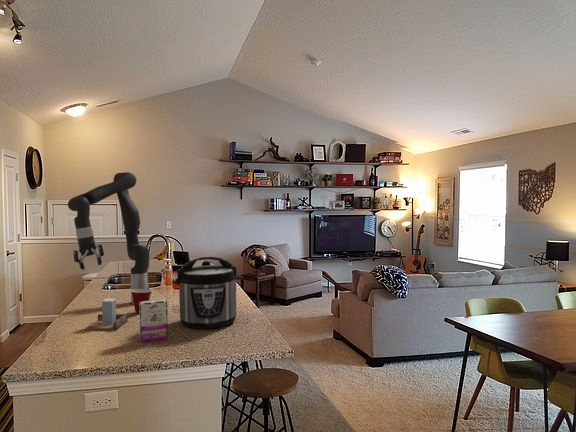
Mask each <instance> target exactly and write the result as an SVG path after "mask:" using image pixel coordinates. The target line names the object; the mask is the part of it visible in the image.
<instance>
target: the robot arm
mask: <svg viewBox="0 0 576 432" xmlns="http://www.w3.org/2000/svg"><path fill="white" fill-rule="evenodd" d="M136 184H137V176H136V175H135V174H134V173H132V172H129V171H126V172H125V171H124V172H117V173H116V174H114V176H113V180H112V182H109V183H106V184H103V185H99V186H97V187H94V188H92V189H91V190H90V189H89V190H88V191H86V192H84V193H81V194H79V195H76V196H73V197H71V198H70V199H69V200H68V202H67V207H68V209H69V211H73V212H77V213H76V216H75V217H74V218H73V221H74V227H75V235H76V239H77V245H78V249H77V250H74V249H73V251H72V254H73V255H72V256H73V260H74V263H78V264H79V268H80V270H83V271H85V268H86V267H85V264H84V260H85V259H86V258H87V257H90V256H95V257H96V262H97V265H98V266H101V265H102V263H103V262H102V261H103V260H102V257H103V256H105V252H104V248H103V244H99V243H98V244H97V245H96V241H95V237H94V231H93V228H92V225H91V220H90V216H91V215H90V214H91V213H90V211H91V205H95V204H97V203H98V202H101V201H103V200H105V199H107V198H108V197H110V196H113V195H115V194H116V195H117V199H118V203H119V208H120V213H121V219H122V224H123V229H124V235H125V240H126V241H125V242H126V251H127V255H128V258H129V259H130V260H131V261H134V266H133V267H131V268H130V291H131V290H137V289H148V290H150V284H149V285H148V283H149V282H148V280H149V279H148V278H149V277H148V273H149V272H148V270H149V267H150V250H149V248H148V246H146V245H144V244H143V245H141V244H140V242H139V235H138V233H139V229H140V228H141V227H140V226H141V216H140V212H139V209H138V207H137V206H136V204H135V203H134V201H133V199H131V196H130V193H129V189H132V188H134V187H135V186H136ZM96 250H98V251H96ZM130 303H131V304H133V305H134V302H133V297H132V293H131V292H130Z"/></svg>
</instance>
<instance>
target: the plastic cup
mask: <svg viewBox="0 0 576 432" xmlns="http://www.w3.org/2000/svg"><path fill="white" fill-rule="evenodd" d="M152 292H153V290H152V289H149V290H148V289H137V290H131V289H130V294H131V293H132V297H133V302H134V304H133V308H134V312H135V314H137V315H140V314H139V302H140V301H150V300H151V299H150V298H151V295H152Z"/></svg>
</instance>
